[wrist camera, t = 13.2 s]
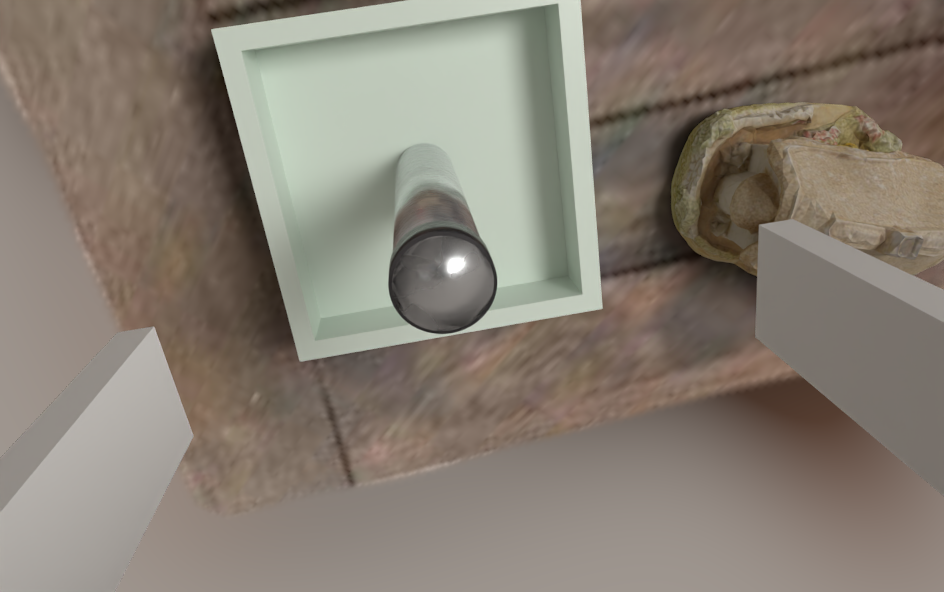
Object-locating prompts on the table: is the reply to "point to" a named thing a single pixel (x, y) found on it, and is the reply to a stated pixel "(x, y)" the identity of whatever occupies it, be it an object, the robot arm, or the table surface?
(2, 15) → the table surface
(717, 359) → the table surface
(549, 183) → the tray
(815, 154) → the ceramic model
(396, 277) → the pin
